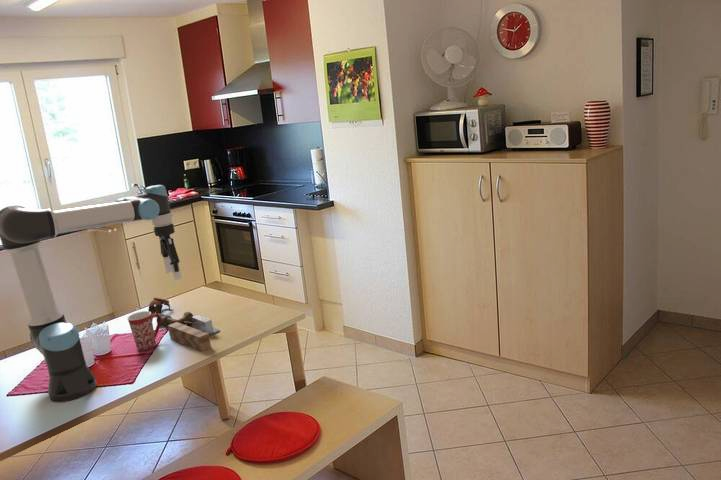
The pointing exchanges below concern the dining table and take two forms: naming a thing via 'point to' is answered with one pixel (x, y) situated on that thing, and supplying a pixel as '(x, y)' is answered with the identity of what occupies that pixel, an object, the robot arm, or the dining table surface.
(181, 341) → the walnut bar
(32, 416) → the dining table surface
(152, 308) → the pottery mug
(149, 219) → the robot arm
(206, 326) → the fulcrum
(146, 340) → the mug
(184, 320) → the kendama
